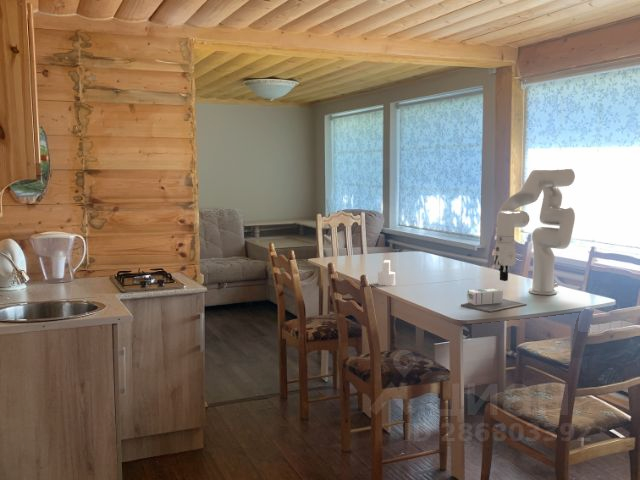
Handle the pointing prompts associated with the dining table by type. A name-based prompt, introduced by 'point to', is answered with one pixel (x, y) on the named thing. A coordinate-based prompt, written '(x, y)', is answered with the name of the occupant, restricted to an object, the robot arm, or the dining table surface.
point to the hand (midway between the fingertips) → (503, 280)
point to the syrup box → (485, 296)
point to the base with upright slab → (386, 275)
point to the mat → (495, 306)
